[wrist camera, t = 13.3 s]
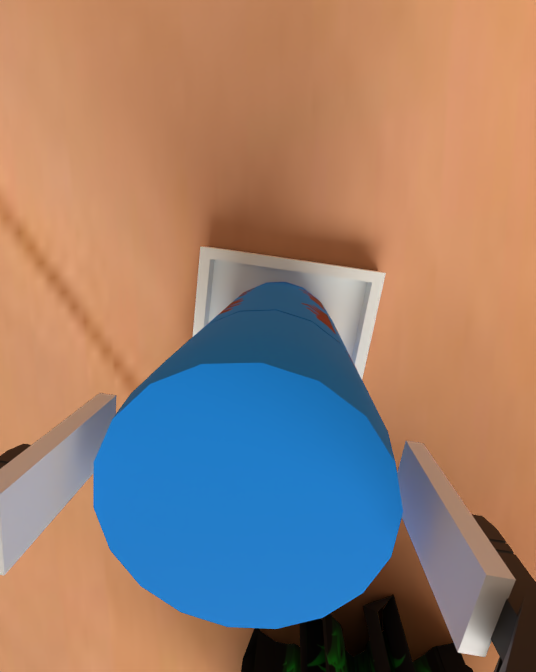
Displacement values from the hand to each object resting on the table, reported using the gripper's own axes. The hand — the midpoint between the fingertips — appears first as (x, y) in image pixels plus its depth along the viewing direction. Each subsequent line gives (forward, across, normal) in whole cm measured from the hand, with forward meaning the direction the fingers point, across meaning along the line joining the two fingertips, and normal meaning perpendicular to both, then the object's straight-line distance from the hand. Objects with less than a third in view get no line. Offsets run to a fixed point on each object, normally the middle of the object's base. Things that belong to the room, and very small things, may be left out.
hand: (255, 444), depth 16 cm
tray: (+22, +1, 0) cm, 22 cm away
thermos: (+21, 0, 0) cm, 21 cm away
